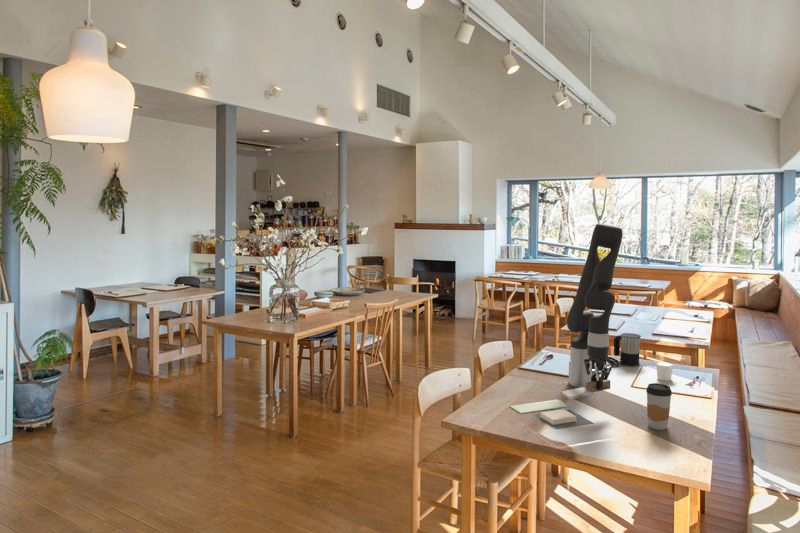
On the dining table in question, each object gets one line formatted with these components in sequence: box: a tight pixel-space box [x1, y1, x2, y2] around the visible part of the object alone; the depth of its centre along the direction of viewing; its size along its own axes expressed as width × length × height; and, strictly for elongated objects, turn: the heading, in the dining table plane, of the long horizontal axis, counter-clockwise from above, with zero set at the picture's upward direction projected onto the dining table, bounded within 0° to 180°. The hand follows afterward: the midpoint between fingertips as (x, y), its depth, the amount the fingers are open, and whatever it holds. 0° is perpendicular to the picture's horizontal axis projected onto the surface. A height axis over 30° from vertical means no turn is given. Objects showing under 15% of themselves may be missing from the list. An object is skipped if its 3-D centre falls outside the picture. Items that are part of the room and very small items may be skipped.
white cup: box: [656, 361, 674, 382], centre depth 262 cm, size 7×7×7 cm
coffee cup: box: [645, 382, 672, 431], centre depth 206 cm, size 8×8×15 cm
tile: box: [540, 408, 576, 425], centre depth 213 cm, size 8×2×10 cm
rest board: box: [509, 399, 570, 415], centre depth 227 cm, size 8×22×1 cm, turn 109°
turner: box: [560, 378, 611, 400], centre depth 216 cm, size 19×6×3 cm, turn 108°
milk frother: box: [606, 332, 642, 367], centre depth 286 cm, size 14×16×15 cm
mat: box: [533, 409, 594, 430], centre depth 214 cm, size 15×16×1 cm
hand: (596, 388), depth 218 cm, fingers closed on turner, 2 cm apart
